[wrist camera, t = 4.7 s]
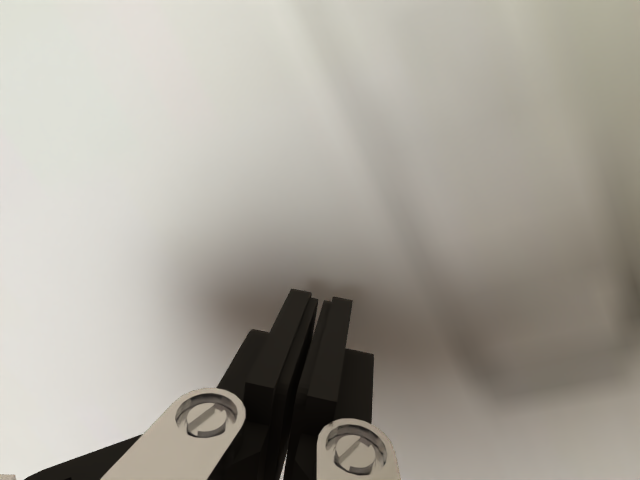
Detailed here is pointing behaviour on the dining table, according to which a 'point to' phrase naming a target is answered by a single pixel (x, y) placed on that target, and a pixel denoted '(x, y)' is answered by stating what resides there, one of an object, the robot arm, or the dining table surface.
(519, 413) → the dining table surface
